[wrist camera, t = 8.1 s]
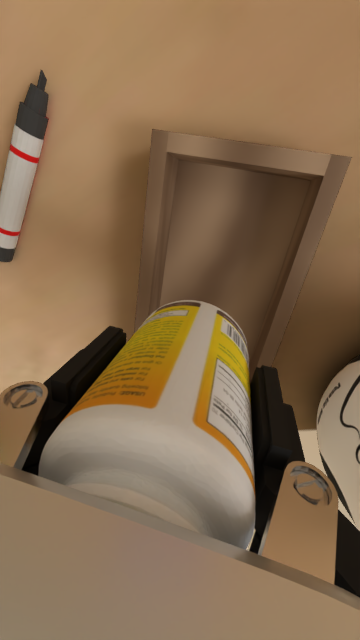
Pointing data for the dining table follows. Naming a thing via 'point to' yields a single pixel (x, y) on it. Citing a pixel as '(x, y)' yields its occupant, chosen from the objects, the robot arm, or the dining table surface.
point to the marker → (22, 165)
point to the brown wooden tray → (234, 230)
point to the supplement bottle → (168, 426)
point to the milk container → (342, 436)
